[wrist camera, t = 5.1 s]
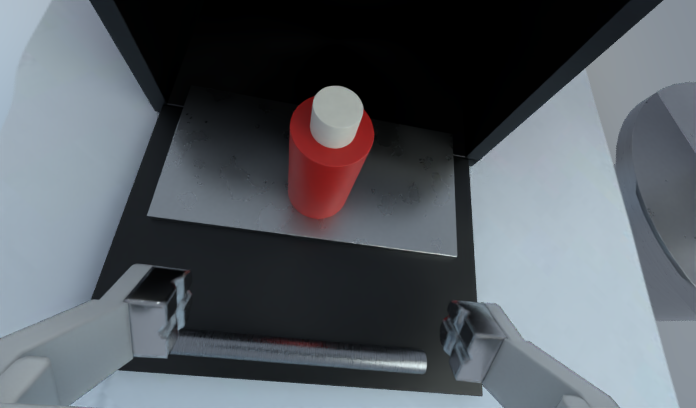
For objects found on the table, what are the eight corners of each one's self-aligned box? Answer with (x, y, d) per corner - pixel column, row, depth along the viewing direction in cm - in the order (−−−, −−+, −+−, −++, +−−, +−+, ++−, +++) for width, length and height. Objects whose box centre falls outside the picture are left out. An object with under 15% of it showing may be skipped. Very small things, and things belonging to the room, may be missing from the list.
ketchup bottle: (340, 161, 28) (371, 66, 18) (352, 214, 26) (394, 142, 16) (283, 168, 27) (283, 70, 17) (293, 223, 25) (299, 152, 15)
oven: (486, 394, 25) (1027, 567, 7) (60, 363, 21) (-1408, 586, 3) (462, 12, 41) (607, -246, 23) (214, -48, 37) (145, -423, 18)
